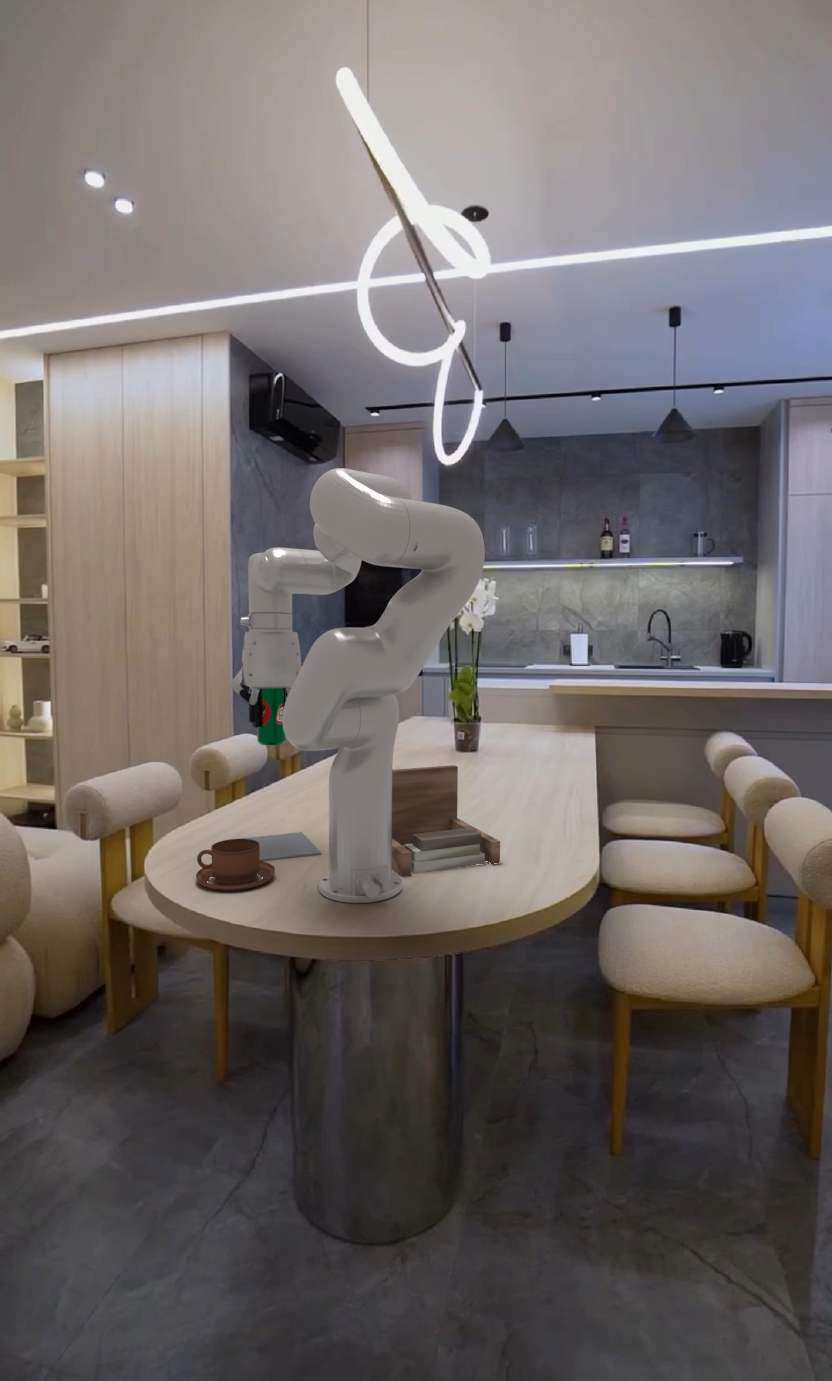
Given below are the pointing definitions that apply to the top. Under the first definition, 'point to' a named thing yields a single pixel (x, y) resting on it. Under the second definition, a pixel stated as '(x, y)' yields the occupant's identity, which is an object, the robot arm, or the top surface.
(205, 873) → the cup and saucer
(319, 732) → the robot arm
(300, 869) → the top surface
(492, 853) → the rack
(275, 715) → the soda can
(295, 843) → the mat
